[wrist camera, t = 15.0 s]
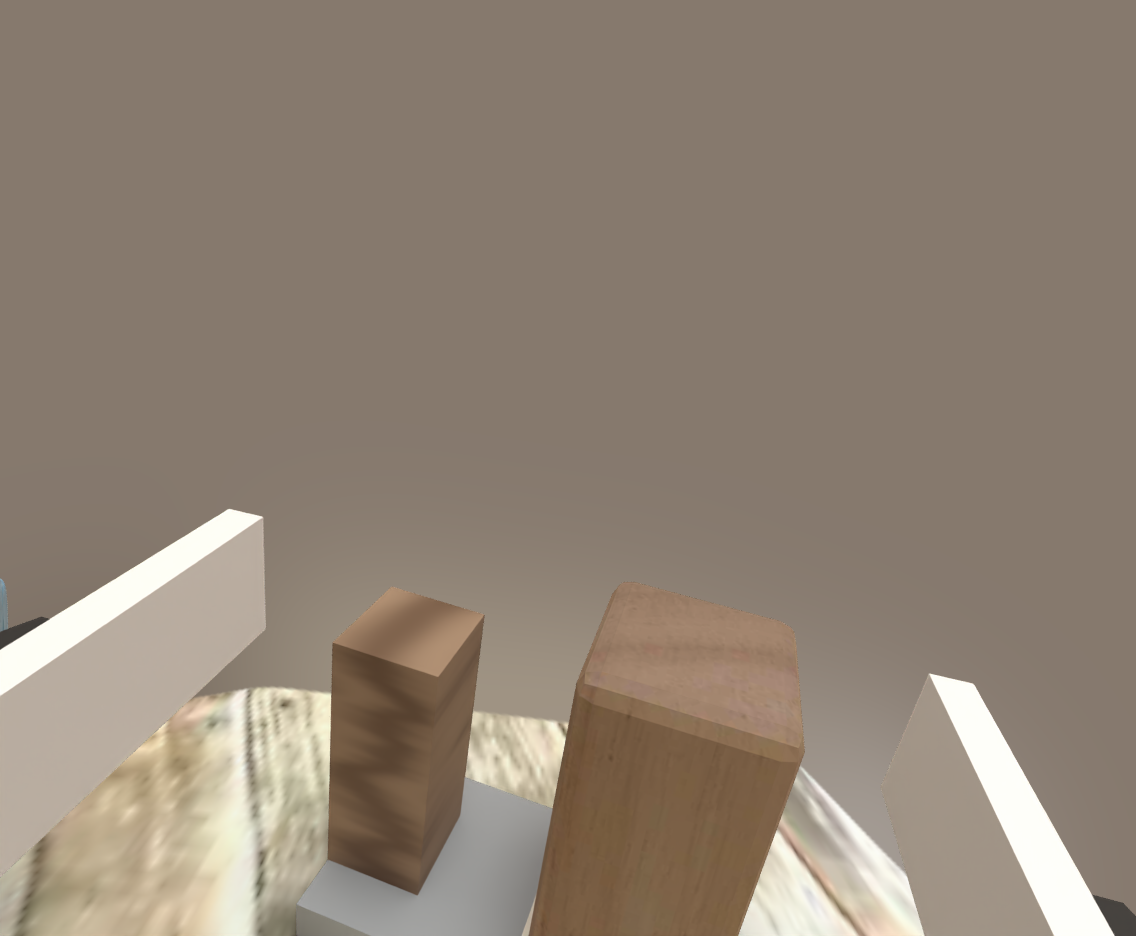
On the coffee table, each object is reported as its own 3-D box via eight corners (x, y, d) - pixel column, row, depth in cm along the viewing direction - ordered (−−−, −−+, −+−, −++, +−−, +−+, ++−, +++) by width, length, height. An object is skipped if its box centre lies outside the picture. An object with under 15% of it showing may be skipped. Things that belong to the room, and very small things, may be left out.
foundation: (296, 939, 40) (296, 903, 39) (399, 785, 51) (401, 753, 49) (705, 1116, 35) (719, 1081, 34) (722, 903, 46) (732, 871, 44)
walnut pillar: (327, 859, 41) (332, 642, 35) (379, 785, 47) (391, 586, 41) (417, 895, 40) (438, 676, 34) (460, 815, 45) (484, 614, 40)
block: (566, 826, 46) (618, 570, 38) (715, 877, 44) (800, 618, 36) (518, 976, 37) (574, 679, 29) (702, 1049, 35) (812, 750, 27)
